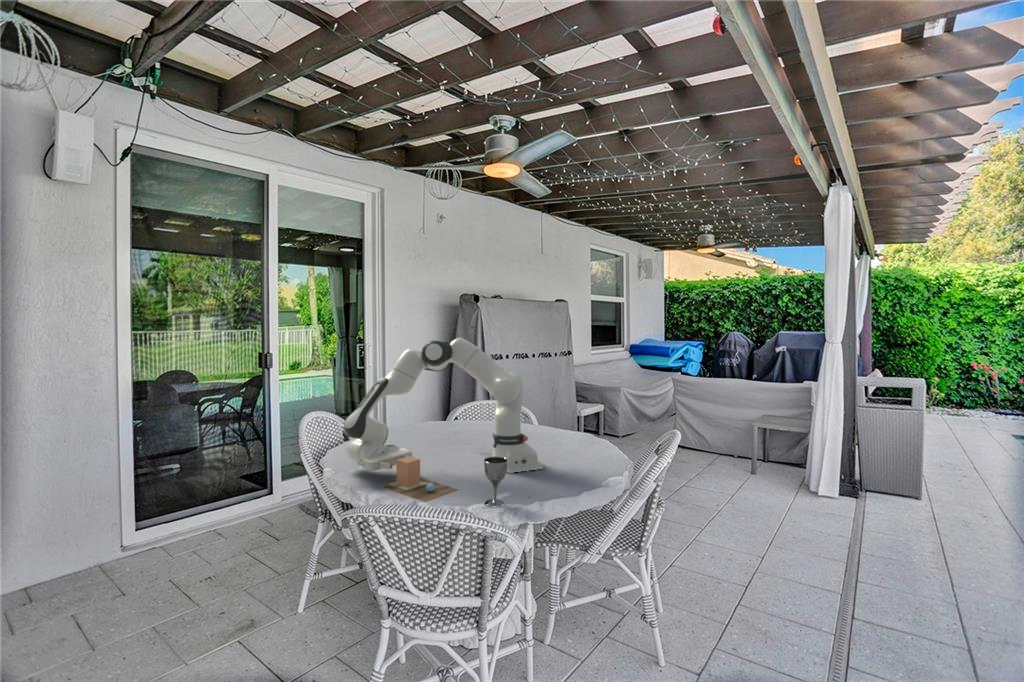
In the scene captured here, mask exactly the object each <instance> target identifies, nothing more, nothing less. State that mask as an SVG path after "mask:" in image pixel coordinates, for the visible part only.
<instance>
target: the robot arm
mask: <svg viewBox="0 0 1024 682" xmlns="http://www.w3.org/2000/svg"><path fill="white" fill-rule="evenodd" d="M450 363H453V364H455V365H456V366H459V367H460V368H461V369H462V370H463V371H465V372H466V373H467V374H468V375H469V376H471V377H472V378H473V379H475V380H476V381H478V383H480V385H481V386H482V387H483V388H484V389H485V390H486V391H487V392H488V393H489V394H490V395H492V397H494V399H495V409H494V415H493V416H494V417H493V433H492V455H491V457H504V458H506V459H507V460H508V465H507V472H508V474H515V473H514V472H519V473H522V472H521V471H527V472H530V471H529V470H535V469H541V468H543V469H544V464H543V462H542V461H540V460H539V457H538V454H537V453H538V452H536V451H537V450H535V449H534V448H533V447H532V446H530V445H529V444H528V443H527V441H528V440H529V437H528V436H527V435H525V434H523V433H522V432H521V426H522V425H521V423H522V421H521V420H522V407H523V406H522V404H523V389H524V384H523V380H522V378H521V377H520V376H519V375H518V374H517V373H514V372H507V371H505V370H504V368H502V367H501V365H499V364H498V363H497V361H496V360H495V359H493V358H492V357H491V356H490V355H488V354H487V353H486V352H484V351H483V350H482V349H481V348H479V347H478V346H476V344H474V343H472V342H470V341H469V340H467V339H465V338H463V337H456V338H454V339H453V340H452V341H451V342H450V343H449V342H447V341H441V340H430V341H427V342H426V343H425V344H424V345H423V347H422V349H421V351H420V350H418V349H413V348H407V349H405V350H404V351H403V352H402V353H401V355H399V357H398V359H397V360H396V362H395V363H394V364H393V367H392V368H391V370H390V371H389V372H388V373H387V375H385V376H384V377H381V378H379V379H378V380H377V381H376V382H375V383H374V384H373V385H372V387H371V388H370V389H369V390H368V392H367V393H366V394H365V396H364V397H363V399H362V400H361V401H360V402H359V404H358V405H357V407H355V409H353V411H352V412H351V413H349V415H348V416H347V417H346V418H345V421H344V424H343V429H344V431H345V434H346V436H347V437H349V438H352V439H353V440H351V441H350V442H349V443H348V445H347V447H346V452H347V453H346V454H347V456H348V457H349V459H350V460H351V461H354V462H355V463H357V465H359V466H361V467H362V469H364V470H366V471H368V472H375V471H379V470H382V469H383V470H384V469H387V470H391V469H393V466H397V459H401V458H405V457H408V456H410V457H413V451H412V450H409V449H407V448H404V447H400V446H399V447H398V445H396V444H388V445H387V444H386V442H387V439H388V436H389V428H388V425H387V424H386V423H385V422H383V421H380V420H378V419H375V418H373V417H371V416H370V414H371V413H372V411H373V410H374V409H375V407H376V405H378V403H379V401H380V400H381V399H382V398H384V397H387V396H401V395H405V394H407V393H410V391H411V390H412V389H413V388H414V386H415V384H416V382H417V380H418V379H419V377H420V375H421V373H422V372H423V371H424V370H425V371H431V372H442V371H444V370H446V369H447V368H448V366H449V365H450ZM385 444H386V445H385ZM507 472H506V473H507Z"/></svg>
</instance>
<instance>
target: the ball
mask: <svg viewBox="0 0 1024 682" xmlns="http://www.w3.org/2000/svg"><path fill="white" fill-rule="evenodd" d="M426 489H427V491H429V492H432V491H434V489H435V485H434V484H433V483H429V484H428V485H427V487H426Z"/></svg>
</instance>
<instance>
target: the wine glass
mask: <svg viewBox="0 0 1024 682" xmlns="http://www.w3.org/2000/svg"><path fill="white" fill-rule="evenodd" d="M507 465H508V460H507V459H506V458H504V457H492V456H487V457H485V458H484V459H483V467H484V473H485V477H486V479H487V480H488V481H489V482H490V483H491V485H492V488H493V499H494V500H493V499H489V500H486V501H484V505H485V504H487V505H490V506H501V505H503V504H505V503H506V502H505V501H504V500H502V499H497V492H498V486H499V484H501V482H502V481H503V480H505V477H506V475H507ZM501 500H502V501H501ZM503 501H504V502H505V503H504V502H503ZM505 505H506V504H505Z"/></svg>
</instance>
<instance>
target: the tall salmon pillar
mask: <svg viewBox="0 0 1024 682" xmlns="http://www.w3.org/2000/svg"><path fill="white" fill-rule="evenodd" d="M395 476H396V480H395V481H396V484H398V485H401V486H404V487H410V486H413V485H416V484H419V483H420V478H421V459H420V458H417V457H414V456H412V457H410V456H408V457H405V458H401V459H397V465H396V475H395Z"/></svg>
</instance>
